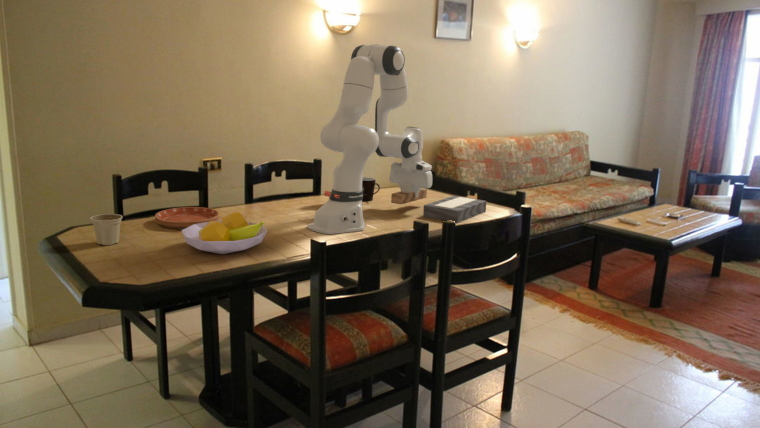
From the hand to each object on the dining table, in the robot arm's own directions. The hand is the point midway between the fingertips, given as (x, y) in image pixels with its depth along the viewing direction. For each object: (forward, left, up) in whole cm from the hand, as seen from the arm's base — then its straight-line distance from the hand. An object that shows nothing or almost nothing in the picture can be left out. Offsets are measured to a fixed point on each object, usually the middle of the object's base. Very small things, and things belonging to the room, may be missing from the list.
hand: (409, 195), depth 250 cm
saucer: (-88, +30, -7) cm, 94 cm away
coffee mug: (-3, +24, -7) cm, 25 cm away
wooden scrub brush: (0, 0, -2) cm, 2 cm away
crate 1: (-2, 0, +2) cm, 3 cm away
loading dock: (+11, -18, -6) cm, 22 cm away
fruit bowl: (-92, -8, -7) cm, 93 cm away
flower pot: (-120, +19, -7) cm, 122 cm away
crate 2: (+2, +1, +2) cm, 3 cm away
